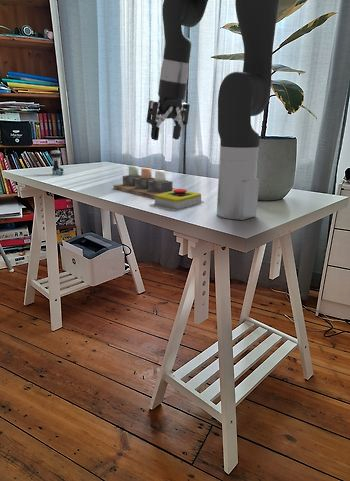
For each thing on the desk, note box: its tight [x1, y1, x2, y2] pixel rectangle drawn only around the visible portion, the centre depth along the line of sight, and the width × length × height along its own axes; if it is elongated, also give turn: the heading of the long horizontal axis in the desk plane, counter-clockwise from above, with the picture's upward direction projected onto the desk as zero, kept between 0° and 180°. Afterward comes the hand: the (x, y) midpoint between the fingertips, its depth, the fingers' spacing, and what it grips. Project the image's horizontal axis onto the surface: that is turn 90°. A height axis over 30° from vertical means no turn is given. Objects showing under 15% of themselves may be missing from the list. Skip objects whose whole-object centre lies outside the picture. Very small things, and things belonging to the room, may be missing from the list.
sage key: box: [128, 165, 140, 177], centre depth 119 cm, size 3×3×4 cm
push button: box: [48, 150, 64, 176], centre depth 145 cm, size 7×5×10 cm
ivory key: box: [154, 169, 167, 183], centre depth 109 cm, size 3×3×4 cm
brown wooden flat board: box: [113, 174, 176, 200], centre depth 115 cm, size 22×12×4 cm, turn 44°
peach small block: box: [140, 167, 153, 180], centre depth 114 cm, size 3×3×4 cm
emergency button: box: [149, 188, 205, 212], centre depth 99 cm, size 9×4×15 cm
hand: (165, 139), depth 101 cm, fingers open, 8 cm apart
